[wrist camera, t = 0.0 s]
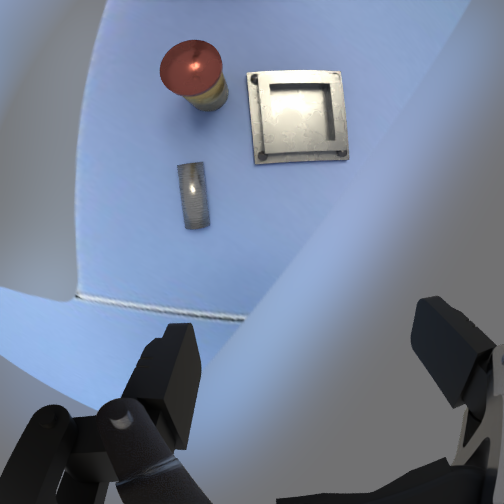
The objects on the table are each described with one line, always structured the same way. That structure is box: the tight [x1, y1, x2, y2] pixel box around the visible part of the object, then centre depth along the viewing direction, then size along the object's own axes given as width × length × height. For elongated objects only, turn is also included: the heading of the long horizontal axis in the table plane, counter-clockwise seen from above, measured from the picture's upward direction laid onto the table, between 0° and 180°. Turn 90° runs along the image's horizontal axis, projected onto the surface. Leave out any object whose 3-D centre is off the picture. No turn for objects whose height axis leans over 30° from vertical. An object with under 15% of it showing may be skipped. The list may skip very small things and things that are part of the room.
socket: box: [247, 70, 349, 164], centre depth 32 cm, size 12×12×4 cm
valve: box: [160, 40, 228, 111], centre depth 27 cm, size 6×6×12 cm
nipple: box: [177, 162, 210, 229], centre depth 35 cm, size 8×3×3 cm, turn 5°
